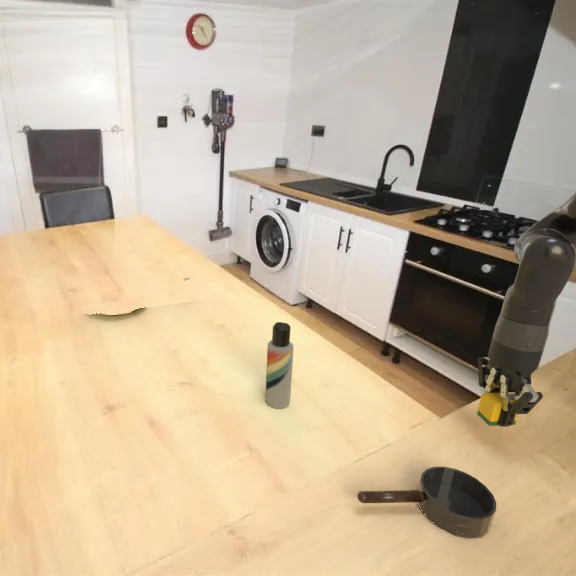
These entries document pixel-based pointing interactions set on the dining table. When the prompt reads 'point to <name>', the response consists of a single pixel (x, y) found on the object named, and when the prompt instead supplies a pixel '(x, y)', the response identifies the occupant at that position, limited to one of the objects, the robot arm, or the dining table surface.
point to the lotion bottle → (279, 367)
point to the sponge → (491, 408)
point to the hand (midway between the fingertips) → (496, 417)
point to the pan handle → (391, 496)
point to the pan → (457, 502)
